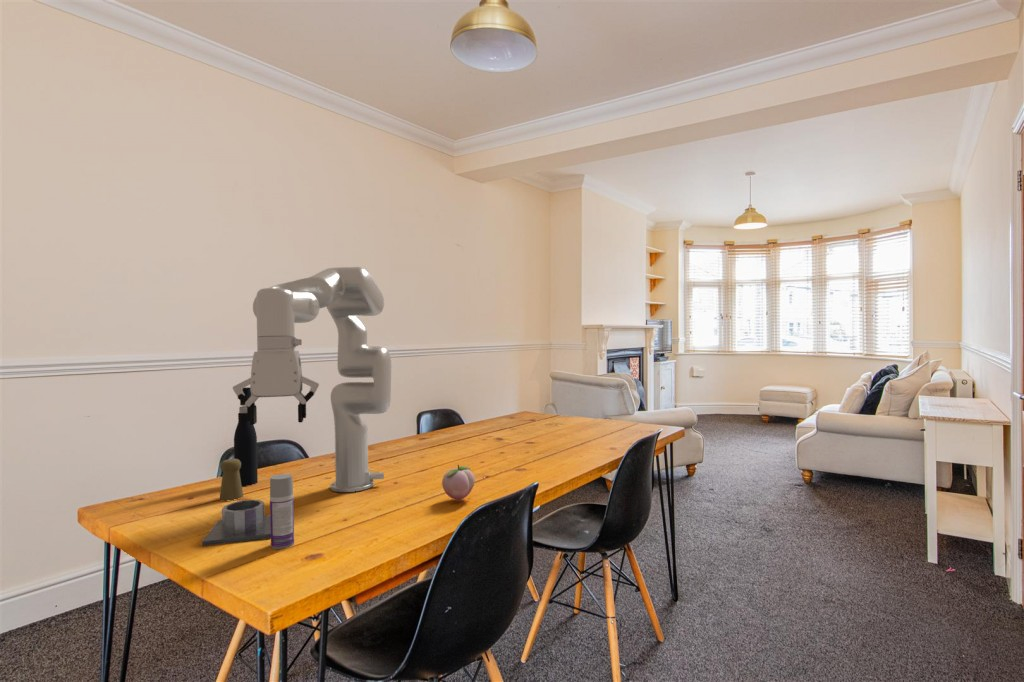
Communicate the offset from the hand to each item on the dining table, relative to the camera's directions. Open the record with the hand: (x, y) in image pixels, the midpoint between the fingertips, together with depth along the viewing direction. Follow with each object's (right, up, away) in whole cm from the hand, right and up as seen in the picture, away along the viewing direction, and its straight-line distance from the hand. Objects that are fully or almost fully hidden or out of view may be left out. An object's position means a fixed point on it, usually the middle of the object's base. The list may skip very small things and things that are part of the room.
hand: (277, 422), depth 115 cm
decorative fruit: (+37, -26, +29) cm, 53 cm away
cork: (-29, -27, +35) cm, 52 cm away
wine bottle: (-32, -27, +49) cm, 65 cm away
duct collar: (-12, -27, +8) cm, 30 cm away
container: (+1, -27, 0) cm, 27 cm away
